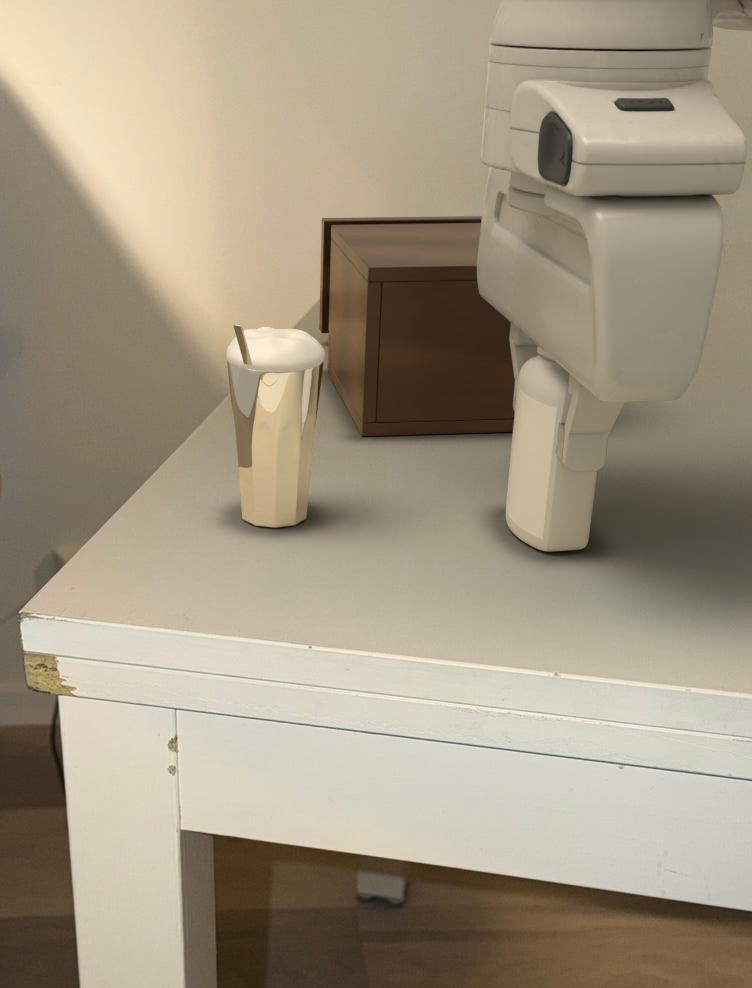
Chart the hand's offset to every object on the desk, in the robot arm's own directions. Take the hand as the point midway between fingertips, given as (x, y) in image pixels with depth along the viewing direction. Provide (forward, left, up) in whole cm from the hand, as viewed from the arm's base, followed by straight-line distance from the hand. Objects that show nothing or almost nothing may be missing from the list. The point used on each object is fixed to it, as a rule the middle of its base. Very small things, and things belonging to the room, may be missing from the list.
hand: (555, 441), depth 61 cm
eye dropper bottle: (0, 0, -5) cm, 5 cm away
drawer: (0, -33, -4) cm, 34 cm away
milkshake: (+13, -3, -5) cm, 14 cm away
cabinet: (0, -22, -4) cm, 22 cm away
